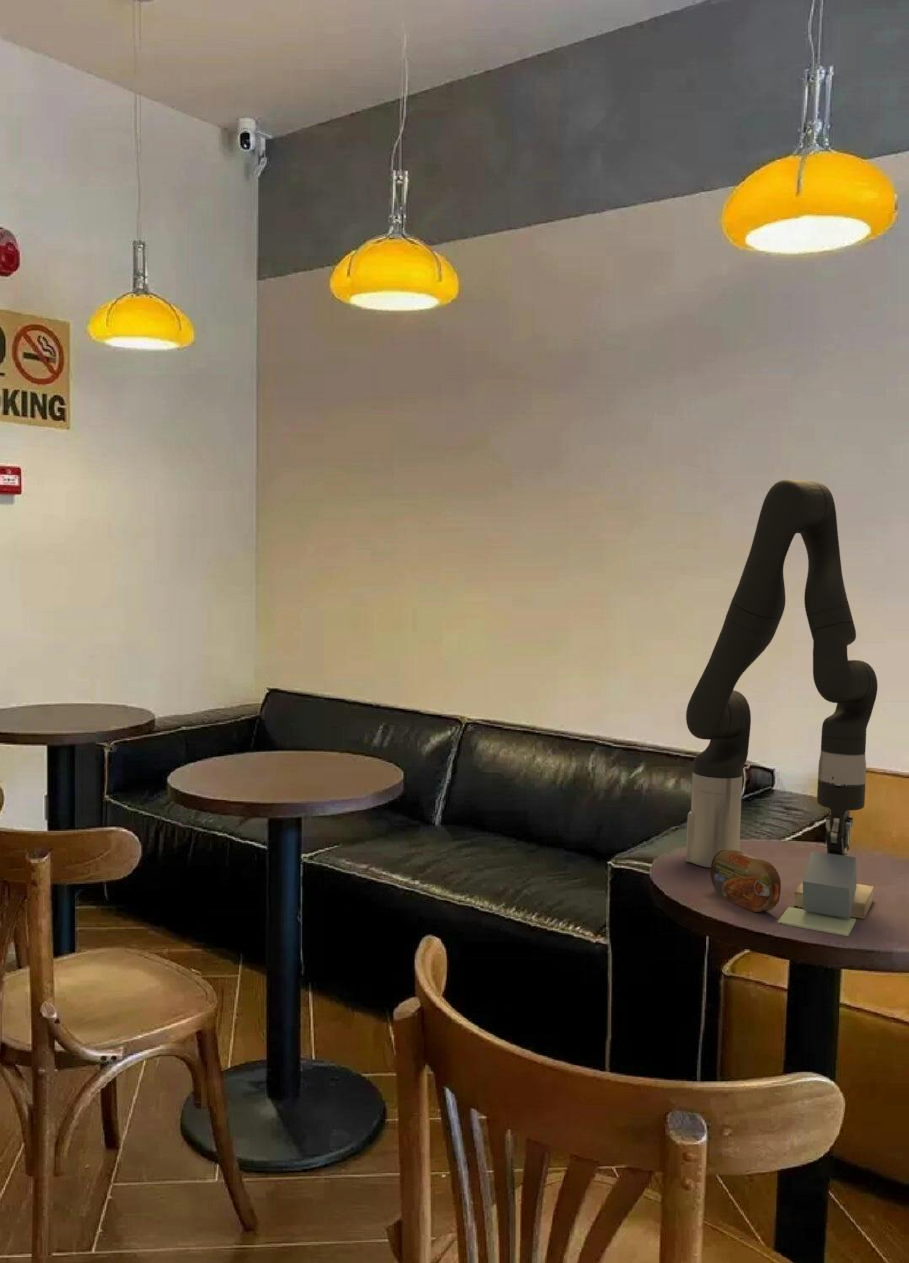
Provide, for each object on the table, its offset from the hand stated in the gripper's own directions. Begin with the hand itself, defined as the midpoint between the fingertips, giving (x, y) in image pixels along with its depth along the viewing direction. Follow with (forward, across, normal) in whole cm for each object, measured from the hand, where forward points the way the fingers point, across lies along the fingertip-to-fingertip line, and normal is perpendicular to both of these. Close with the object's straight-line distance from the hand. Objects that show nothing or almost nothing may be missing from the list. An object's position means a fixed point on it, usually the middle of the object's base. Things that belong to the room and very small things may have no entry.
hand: (836, 879), depth 170 cm
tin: (+4, +9, -13) cm, 17 cm away
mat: (+4, +12, -1) cm, 13 cm away
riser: (+4, 0, 0) cm, 4 cm away
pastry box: (+2, +6, 0) cm, 6 cm away
